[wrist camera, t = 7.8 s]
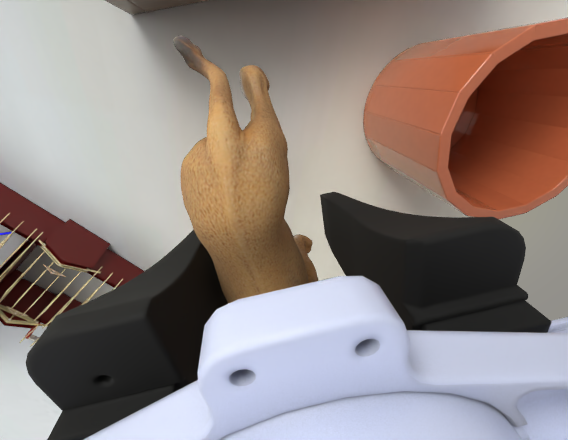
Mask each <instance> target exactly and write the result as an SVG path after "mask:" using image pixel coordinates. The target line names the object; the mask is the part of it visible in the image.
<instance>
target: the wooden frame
mask: <svg viewBox="0 0 568 440" xmlns="http://www.w3.org/2000/svg"><path fill="white" fill-rule="evenodd" d="M105 1H107V2H109V3H111V4H112V5H114V6H116V7H118V8H120V9H122V10H124V11H125V12H127V13H129V14H131V15H133V14H138V13H144V12H145V11H146V12H149V11H155V10H160V9H165V8H170V7H176V6H181V5H186V4H192V3H197V2H202V1H208V0H105Z"/></svg>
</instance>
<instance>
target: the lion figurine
mask: <svg viewBox="0 0 568 440" xmlns="http://www.w3.org/2000/svg"><path fill="white" fill-rule="evenodd" d="M173 43H174V45H175V47H176V49H177V50H178V51H179V52H180V54H181V55H182V56H183V58H184V60H185V62H186V63H187V65H188V66H189V67H190V68H192V69H193V70H195V71H197V72H199V73H200V74H202V75H203V76H205V77H206V78H207V79H208V80H209V81H210V98H209V116H208V123H207V137H205V138H203V139H202V140H200V141H199V142H197V143H196V144H195V146H194V147H193V148H192V149H191V151H190V152H189V153H188V154H187V156H186V157H185V158H184V160H183V163H182V167H181V189H182V195H183V200H184V205H185V208H186V210H187V212H188V215H189V217H190V220H191V222H192V225H193V228H194V231H195V233H196V235H197V237H198V239H199V240H200V241H201V243H202V244H203V245H204V247H205V248H206V249H207V251H208V253H209V254H210V256H211V258H212V260H213V263H214V266H215V269H216V272H217V276H218V279H219V282H220V285H221V289H222V291H223V294H224V296H225V298H226V300H227V302H228V303H231V302H233V301H236V300H238V299H242V298H246V297H251V296H255V295H259V294H264V293H268V292H273V291H277V290H281V289H286V288H290V287H294V286H299V285H303V284H307V283H312V282H316V281H318V277H317V273H316V270H315V267H314V265H313V263H312V261H311V260H310V259H309V257H308V255H307V253H309V252H310V251H311V246H312V240H310V239H309V238H308V237H306V236H303V235H300V234H299V235H295V236H293V235H292V232H291V230H290V228H289V226H288V224H287V223H286V221H285V220H284V213H285V208H286V204H287V200H288V195H289V189H290V187H289V168H288V160H287V150H288V149H287V142H286V139H285V136H284V134H283V132H282V129H281V126H280V123H279V121H278V118H277V116H276V114H275V111H274V109H273V106H272V104H271V100H270V97H269V93H268V90H269V81H268V79H267V77H266V75H265V74H264V72H263V71H262V70H261V69H260V68H259V67H258V66H255V65H249V66H245V67H243V68H242V69H241V70H240V73H239V75H240V85H241V90H242V93H243V94H244V96H245V98H246V99H247V100H248V101H249V103H250V106H251V109H252V112H251V121H250V122H249V124H248V125H247V126H246V127H245V129H244V130H241V128H240V127H239V124H238V121H237V118H236V115H235V112H234V109H233V102H232V94H231V90H230V86H229V82H228V80H227V77H226V74H225V73H224V72H223V71H222V70H221V69H220V68H219V67H217V66H216V65H214V64H213V63H212V62H210V61H208V60H206V59H205V58H204V57H203V55H202V53H201V50H200V48H199V47H198V46H196V45H194V44H193V43H192V42H191V41H190V40H189V39H188V38H186V37H184V36H180V35H179V36H177V37H176V38H174V40H173Z"/></svg>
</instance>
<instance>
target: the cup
mask: <svg viewBox="0 0 568 440" xmlns="http://www.w3.org/2000/svg"><path fill="white" fill-rule="evenodd" d="M363 124H364V133H365V137H366V140H367V143H368V145H369V147H370V149H371V151H372V152H373V153H374V155H375V156H376V157H377V158H378V159H379V160H380V161H382V162H383V163H385V164H386V165H388V166H389V167H390V168H391V169H393V170H395V171H396V172H398V173H399V174H401V175H402V176H404V177H406V178H407V179H409V180H410V181H412V182H414V183H415V184H417V185H418V186H420V187H422V188H423V189H425V190H426V191H428V192H430V193H431V194H433V195H434V196H436V197H437V198H439V199H441V200H442V201H444V202H445V203H447V204H449V205H450V206H452V207H453V208H455V209H457V210H458V211H460V212H461V213H463V214H465V215H467V216H471V217H495V218H497V219H501V218H506V217H511V216H515V215H520V214H524V213H527V212H529V211H530V210H532V209H534V208H536V207H537V206H539V205H541V204H543V203H545V202H547V201H548V200H550V199H552V198H554V197H556V196H557V195H558V194H559V193H560V192H561V191H563V190H564V189H565V188H566V187H567V186H568V17H567V18H562V19H556V20H550V21H544V22H538V23H533V24H527V25H521V26H515V27H510V28H504V29H498V30H492V31H487V32H481V33H475V34H469V35H464V36H458V37H452V38H446V39H441V40H436V41H431V42H425V43H421V44H418V45H415V46H413V47H410V48H408V49H406V50H405V51H403V52H401V53H400V54H399V55H397V56H396V57H395V58H393V59H392V60H391V61H390V62H389V63H388V64H387V65H386V66H385V68H384V69H383V70H382V71H381V72H380V74H379V75H378V77H377V78H376V80H375V82H374V84H373V85H372V87H371V89H370V92H369V95H368V97H367V101H366V104H365V109H364V122H363Z"/></svg>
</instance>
